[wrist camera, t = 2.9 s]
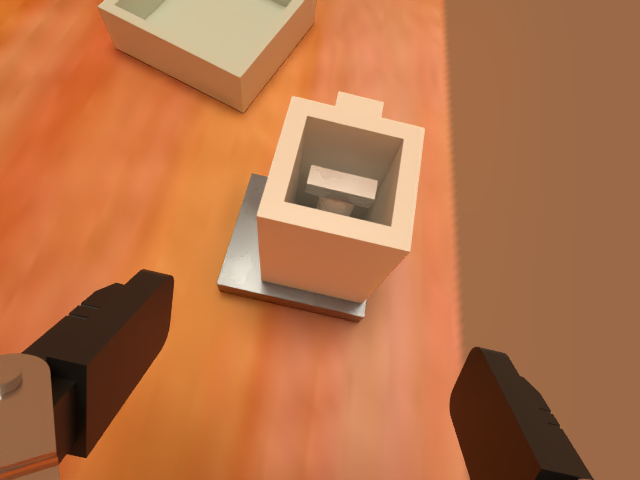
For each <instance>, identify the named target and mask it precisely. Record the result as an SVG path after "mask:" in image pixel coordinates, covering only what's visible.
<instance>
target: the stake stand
mask: <svg viewBox="0 0 640 480" xmlns="http://www.w3.org/2000/svg"><path fill="white" fill-rule="evenodd" d="M267 179H268V177H265V176H261V175H257V174H253V173H252V175H251V178H250V181H249V185H248V188H247V191H246V194H245V197H244V200H243V203H242V207H241V210H240V213H239V216H238V219H237V222H236V225H235V229H234V232H233V235H232V238H231V241H230V244H229V247H228V251H227V254H226V257H225V260H224V263H223V266H222V269H221V273H220V276H219V279H218V282H217V285H218V287H219V289H220V291H222V292H227V293H231V294H236V295H240V296H244V297H249V298H253V299H258V300H262V301H266V302H271V303H275V304H280V305H284V306H288V307H293V308H297V309H302V310H306V311H310V312H315V313H319V314H324V315H328V316H332V317H337V318H341V319H346V320H350V321H354V322H359V321H360V320H361V319H362V318H364V314H365V308H366V301H367V299H366V300H365V301H364V302H363V304H362V303H358V302H353V301H349V300H344V299H340V298H336V297H331V296H327V295H323V294H318V293H314V292H309V291H305V290H301V289H296V288H292V287H288V286H283V285H279V284H274V283H270V282H266V281H261V272H260V258H259V244H258V230H257V217H256V216H257V212H258V209H259V206H260V202H261V199H262V196H263V192H264V189H265V185H266V182H267ZM377 183H378V181H377V180H373V179H369V178H365V177H360V176H356V175H352V174H348V173H344V172H339V171H335V170H331V169H327V168H323V167H318V166H314V165H311V169H310V173H309V177H308V181H307V185H306V191H305V193H307V194H311V195H315V196H319V199H318V203H317V207H316V209H318V210H322V211H326V212H331V213H335V214H339V215H343V216H348V217H350V214H351V212H352V210H353V207H354V205H358V206H362V207H366V208H371V206H372V204H373V202H374V200H375V195H376V189H377Z"/></svg>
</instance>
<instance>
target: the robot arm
mask: <svg viewBox="0 0 640 480" xmlns="http://www.w3.org/2000/svg"><path fill="white" fill-rule="evenodd" d="M173 289H174V278H173V276H171V275H167V274H163V273H158V272H154V271H150V270H145V269H142V270H140V271H139V272H138V273H137V274H136V275H135V276H134V277H133V278H132V279H130V280H129V281H128V282H127V283H126V284H125V285H123V284H119V283H115V284H112V285H110V286H107V287H105V288H102V289H100V290H97V291H95V292H94V293H93V294H92V295H90V296H89V297H88V298H87V299H86V300H84V301H83V302H82V303H81V306H79V305H78V306H77V307H76V308H75V309H74V310H72V311H71V312H70V313H69V316H65V317H64V318H63V319H62V320H60V321H59V322H58V323H57V324H56V325H54V326H53V327H52V328H51V329H50V330H48V331H47V332H46V333H45V334H44V335H43V336H41V337H40V338H39V339H38V340H37V341H35V342H34V343H33V344H32V345H31V346H29V347H28V348H27V349H26V350H25V351H23V352H22V353H21V354H19V353H18V354H4V355H0V480H60V474H59V463H60V462H61V461H62V459H63V458H64V457H65V455H66V454H69V455H74V456H79V457H83V458H87V456H88V455H89V453H90V452H91V451H92V449H93V448H94V446H95V445H96V443H97V442H98V440H99V439H100V438H101V436H102V435H103V433H104V432H105V430H106V429H107V427H108V426H109V425H110V423H111V422H112V420H113V419H114V417H115V416H116V414H117V413H118V412H119V410H120V409H121V407H122V406H123V404H124V403H125V401H126V400H127V399H128V397H129V396H130V394H131V393H132V391H133V390H134V388H135V387H136V385H137V384H138V383H139V381H140V380H141V378H142V377H143V375H144V374H145V372H146V371H147V370H148V368H149V367H150V365H151V364H152V362H153V361H154V359H155V358H156V357H157V355H158V354H159V352H160V351H161V349H162V347H163V346H164V343H165V341H166V338H167V335H168V332H169V327H170V319H171V309H172V299H173ZM550 412H551V411H550V409H549V407H548V406H547V404H546V402H545V401H544V399H543V397H542V396H541V394H540V393H539V392H538V391H537V390H536V389H535V388H534V387H533V386H532V385H531V384H530V383H529V382H528V381H527V380H526V379H525V378H523V377H521V376H519V374H518V372H517V370H516V369H515V367H514V365H513V364H512V362H511V360H510V359H509V357H508V356H507V355H506V354H505V353H502V352H497V351H493V350H489V349H485V348H480V347H474V348H473V349H472V350H471V351H470V353H469V355H468V357H467V359H466V362H465V364H464V366H463V368H462V370H461V373H460V375H459V377H458V379H457V381H456V384H455V386H454V388H453V390H452V393H451V397H450V415H451V419H452V422H453V425H454V428H455V432H456V435H457V438H458V441H459V444H460V448H461V451H462V454H463V457H464V460H465V464H466V467H467V470H468V473H469V476H470V480H594V479H593V478H592V476H591V474H590V473H589V471H588V470H587V468H586V467H585V465H584V463H583V462H582V460H581V458H580V457H579V455H578V454H577V452H576V450H575V449H574V448H573V446H572V444H571V442H570V441H569V439H568V438H567V436H566V434H565V433H564V431H563V430H562V429H560V425H559V423H558V421H557V420H556V418H555V417H554V415H553V414H551V413H550Z"/></svg>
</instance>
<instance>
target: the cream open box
mask: <svg viewBox="0 0 640 480" xmlns="http://www.w3.org/2000/svg"><path fill="white" fill-rule="evenodd" d="M383 104H384V102H381V101H377V100H373V99H369V98H364V97H360V96H356V95H352V94H348V93H344V92H340V91H339V93H338V97H337V101H336V105H335V106H332V105H328V104H324V103H320V102H316V101H312V100H307V99H303V98H299V97H295V96H292V98H291V101H290V105H289V108H288V112H287V115H286V118H285V122H284V125H283V128H282V132H281V135H280V138H279V142H278V145H277V148H276V152H275V155H274V159H273V162H272V165H271V169H270V172H269V175H268V179H267V182H266V185H265V189H264V192H263V196H262V199H261V202H260V206H259V209H258V212H257V216H256V217H257V230H258V244H259V258H260V272H261V281H266V282H270V283H274V284H279V285H283V286H288V287H292V288H296V289H301V290H305V291H309V292H314V293H318V294H323V295H327V296H331V297H336V298H340V299H344V300H349V301H353V302H358V303H362V304H363V302H364V301H365V300H366V299H367V298H368V297H369V296H370V295H371V294H372V293H373V292H374V290H375V289H376V288H377V287H378V286H379V285H380V284H381V283H382V282H383V281H384V280H385V279H386V277H387V276H388V275H389V274H390V273H391V272H392V271H393V270H394V269H395V268H396V267H397V266H398V264H399V263H400V262H401V261H402V260H403V259H404V258H405V257H406V256H407V255H408V254H409V252H410V249H411V241H412V232H413V224H414V215H415V207H416V199H417V190H418V182H419V173H420V165H421V157H422V148H423V140H424V131H425V128H423V127H419V126H414V125H410V124H406V123H402V122H398V121H394V120H390V119H386V118H382V117H381V116H382V110H383ZM311 165H314V166H318V167H323V168H327V169H331V170H335V171H339V172H344V173H348V174H352V175H356V176H360V177H365V178H369V179H373V180H377V181H378V183H377V189H376V195H375V200H374V202H373V204H372V206H371V208H366V207H362V206H358V205H354V207H353V210H352V212H351V214H350V217H348V216H343V215H339V214H335V213H331V212H326V211H322V210H318V209H316V207H317V203H318V199H319V196H315V195H311V194H307V193H305V191H306V185H307V181H308V177H309V173H310V169H311Z"/></svg>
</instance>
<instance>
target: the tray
mask: <svg viewBox="0 0 640 480" xmlns="http://www.w3.org/2000/svg"><path fill="white" fill-rule="evenodd" d="M316 2H317V0H104V1H103V2H102V3H101V4H100V5H99V6H97V7H98V9H99V11H100V14H101V16H102V18H103V21H104V23H105V25H106V27H107V30H108V32H109V34H110V37H111V39H112V41H113V44H114V46H115V48H116V49H118V50H120V51H122V52H124V53H126V54H128V55H130V56H132V57H134V58H136V59H138V60H140V61H142V62H144V63H146V64H148V65H150V66H152V67H154V68H156V69H158V70H160V71H162V72H164V73H166V74H167V75H169V76H171V77H173V78H175V79H177V80H179V81H181V82H183V83H185V84H187V85H189V86H191V87H193V88H195V89H197V90H199V91H201V92H203V93H205V94H207V95H209V96H211V97H213V98H215V99H217V100H219V101H221V102H223V103H225V104H227V105H229V106H231V107H233V108H234V109H236V110H238V111H240V112H242V113H244V112H245V110H246V109H247V108H248V107H249V105H250V104H251V103H252V101H253V100H254V99H255V98H256V96H257V95H258V94H259V93H260V91H261V90H262V89H263V87H264V86H265V85H266V84H267V82H268V81H269V80H270V79H271V77H272V76H273V75H274V73H275V72H276V71H277V70H278V68H279V67H280V66H281V65H282V63H283V62H284V61H285V59H286V58H287V57H288V56H289V54H290V53H291V52H292V51H293V49H294V48H295V47H296V45H297V44H298V43H299V42H300V40H301V39H302V38H303V37H304V35H305V34H306V33H307V31H308V30H309V29H310V28H311V26H312V25H313V24H314V19H315V11H316Z"/></svg>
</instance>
